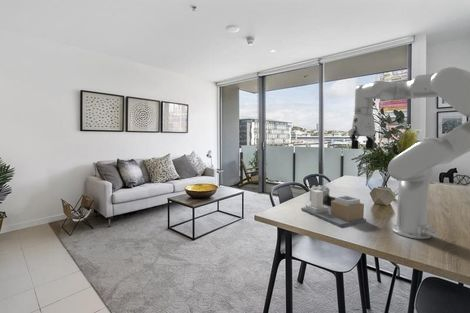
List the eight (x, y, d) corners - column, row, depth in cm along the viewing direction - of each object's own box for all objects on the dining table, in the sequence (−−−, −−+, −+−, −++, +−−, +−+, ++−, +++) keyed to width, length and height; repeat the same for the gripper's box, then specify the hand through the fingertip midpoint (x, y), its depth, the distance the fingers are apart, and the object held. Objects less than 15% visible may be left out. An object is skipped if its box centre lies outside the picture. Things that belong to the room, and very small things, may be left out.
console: (366, 221, 108) (367, 200, 108) (340, 227, 102) (340, 204, 101) (324, 206, 132) (324, 189, 131) (301, 210, 126) (301, 191, 125)
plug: (322, 210, 121) (323, 191, 120) (316, 211, 120) (316, 192, 119) (315, 208, 126) (316, 189, 125) (309, 208, 124) (310, 190, 123)
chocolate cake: (348, 211, 126) (340, 192, 134) (338, 208, 123) (331, 189, 131) (335, 219, 132) (329, 200, 140) (325, 216, 130) (320, 198, 138)
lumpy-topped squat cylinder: (307, 200, 145) (308, 186, 144) (315, 196, 155) (315, 183, 154) (324, 203, 138) (325, 189, 137) (331, 199, 148) (332, 185, 147)
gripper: (357, 110, 104) (355, 149, 105) (383, 112, 111) (382, 148, 112) (343, 112, 111) (342, 148, 112) (369, 113, 118) (367, 147, 119)
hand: (362, 148), depth 112 cm, fingers open, 9 cm apart
